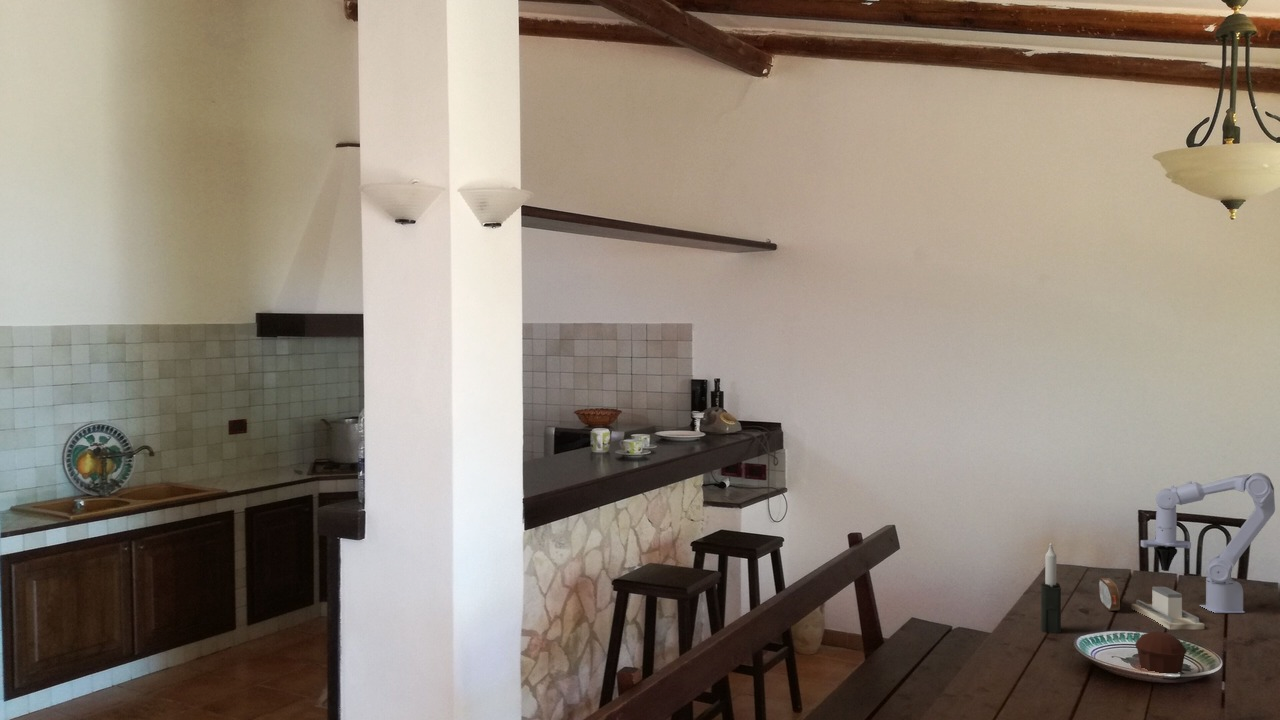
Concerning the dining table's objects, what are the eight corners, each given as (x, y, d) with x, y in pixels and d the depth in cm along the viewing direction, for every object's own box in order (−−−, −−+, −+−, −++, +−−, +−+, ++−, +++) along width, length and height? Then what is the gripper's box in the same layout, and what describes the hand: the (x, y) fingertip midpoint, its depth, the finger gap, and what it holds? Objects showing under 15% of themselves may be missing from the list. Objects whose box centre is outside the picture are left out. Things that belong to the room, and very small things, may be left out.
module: (1165, 609, 300) (1165, 586, 300) (1181, 618, 291) (1181, 594, 291) (1152, 609, 300) (1152, 586, 300) (1168, 618, 291) (1168, 594, 291)
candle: (1059, 628, 286) (1059, 542, 286) (1061, 633, 281) (1061, 545, 281) (1040, 627, 288) (1040, 541, 287) (1041, 632, 283) (1041, 544, 282)
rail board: (1163, 608, 307) (1163, 598, 306) (1204, 629, 285) (1204, 618, 284) (1131, 608, 307) (1131, 599, 306) (1169, 629, 285) (1169, 619, 284)
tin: (1121, 614, 301) (1121, 586, 301) (1109, 613, 301) (1109, 586, 301) (1108, 601, 316) (1108, 575, 315) (1097, 601, 316) (1097, 574, 316)
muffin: (1126, 665, 254) (1127, 626, 253) (1171, 665, 253) (1171, 626, 253) (1149, 681, 242) (1149, 640, 242) (1195, 681, 241) (1195, 640, 241)
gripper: (1148, 529, 309) (1146, 572, 309) (1196, 530, 308) (1195, 573, 308) (1138, 524, 316) (1137, 567, 316) (1185, 525, 315) (1184, 568, 315)
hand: (1165, 570), depth 313 cm, fingers closed
